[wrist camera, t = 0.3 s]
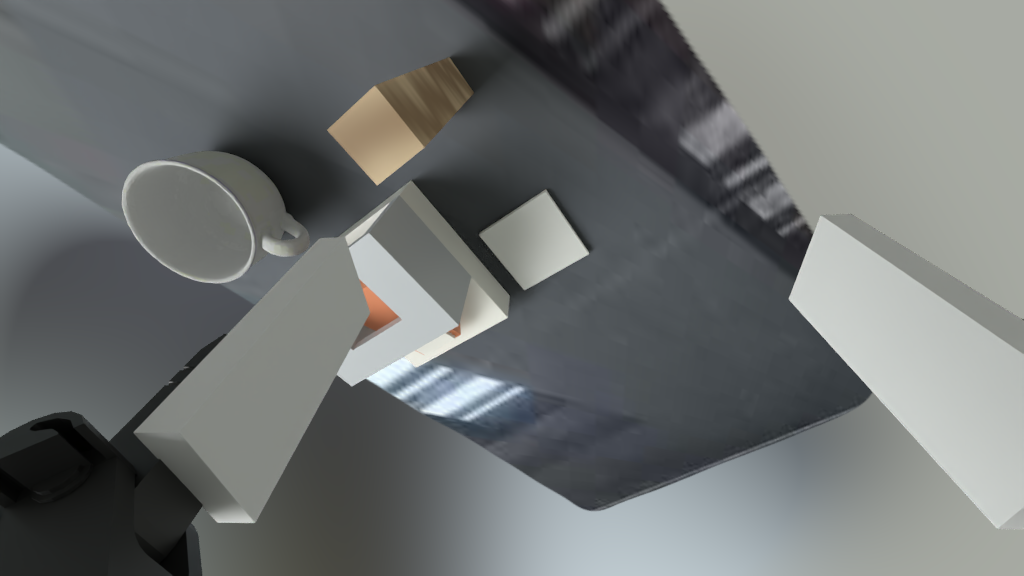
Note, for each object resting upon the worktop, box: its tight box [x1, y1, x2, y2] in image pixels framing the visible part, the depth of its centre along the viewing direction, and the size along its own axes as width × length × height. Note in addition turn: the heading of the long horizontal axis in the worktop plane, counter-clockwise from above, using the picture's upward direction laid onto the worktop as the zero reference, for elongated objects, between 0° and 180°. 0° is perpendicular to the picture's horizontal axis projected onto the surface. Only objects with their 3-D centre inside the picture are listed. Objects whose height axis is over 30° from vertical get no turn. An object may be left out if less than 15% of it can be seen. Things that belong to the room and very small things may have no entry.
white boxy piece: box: [337, 180, 510, 386], centre depth 39 cm, size 16×13×12 cm
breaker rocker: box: [359, 279, 461, 355], centre depth 38 cm, size 11×5×2 cm, turn 36°
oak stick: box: [327, 57, 474, 185], centre depth 26 cm, size 3×3×18 cm
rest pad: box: [479, 189, 589, 290], centre depth 41 cm, size 8×8×1 cm
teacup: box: [122, 151, 310, 283], centre depth 37 cm, size 14×11×8 cm
